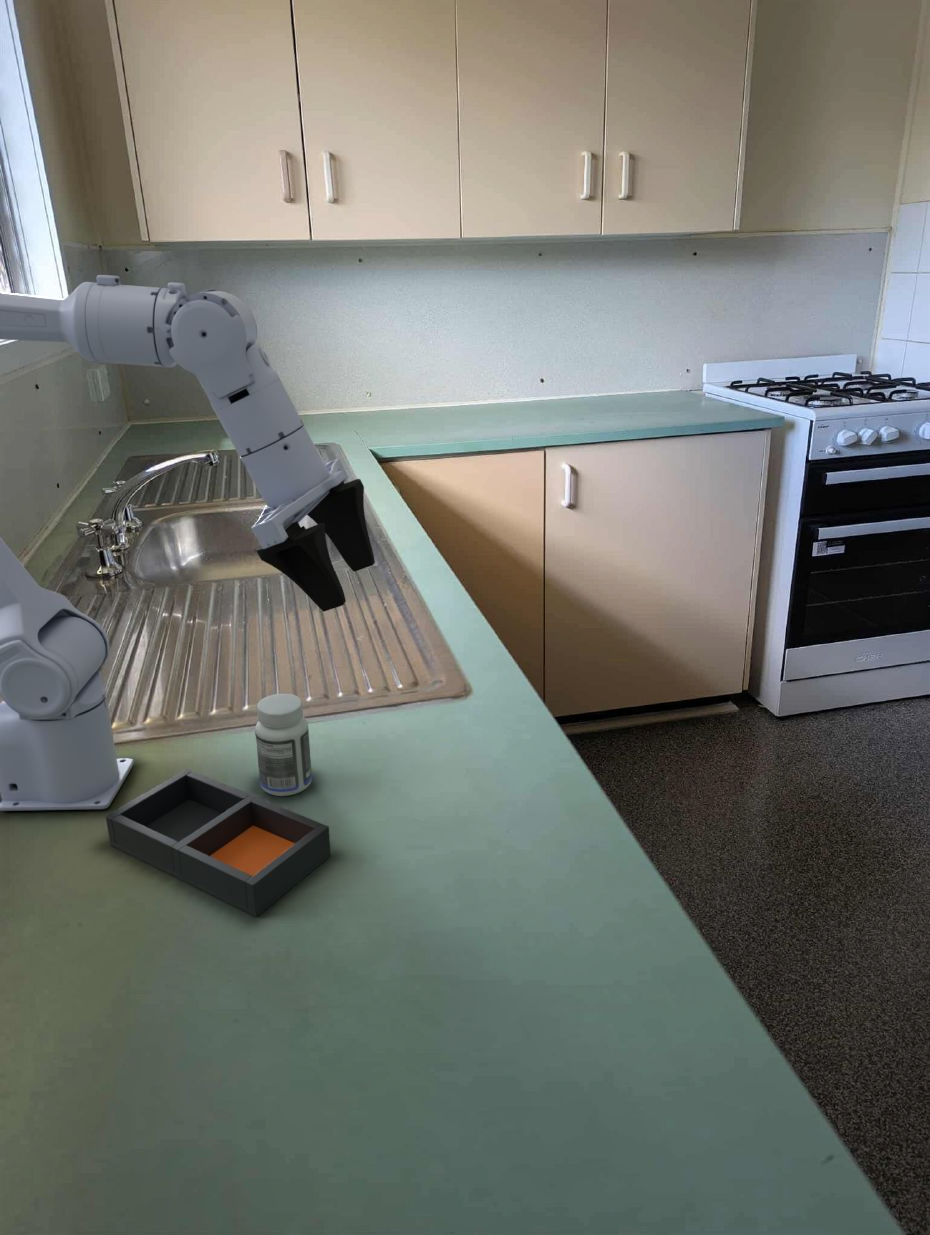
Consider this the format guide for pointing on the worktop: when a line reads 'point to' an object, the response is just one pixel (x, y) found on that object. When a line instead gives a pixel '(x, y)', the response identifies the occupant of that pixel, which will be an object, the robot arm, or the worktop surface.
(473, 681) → the worktop surface
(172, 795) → the tray
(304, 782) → the pill bottle
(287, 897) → the worktop surface
